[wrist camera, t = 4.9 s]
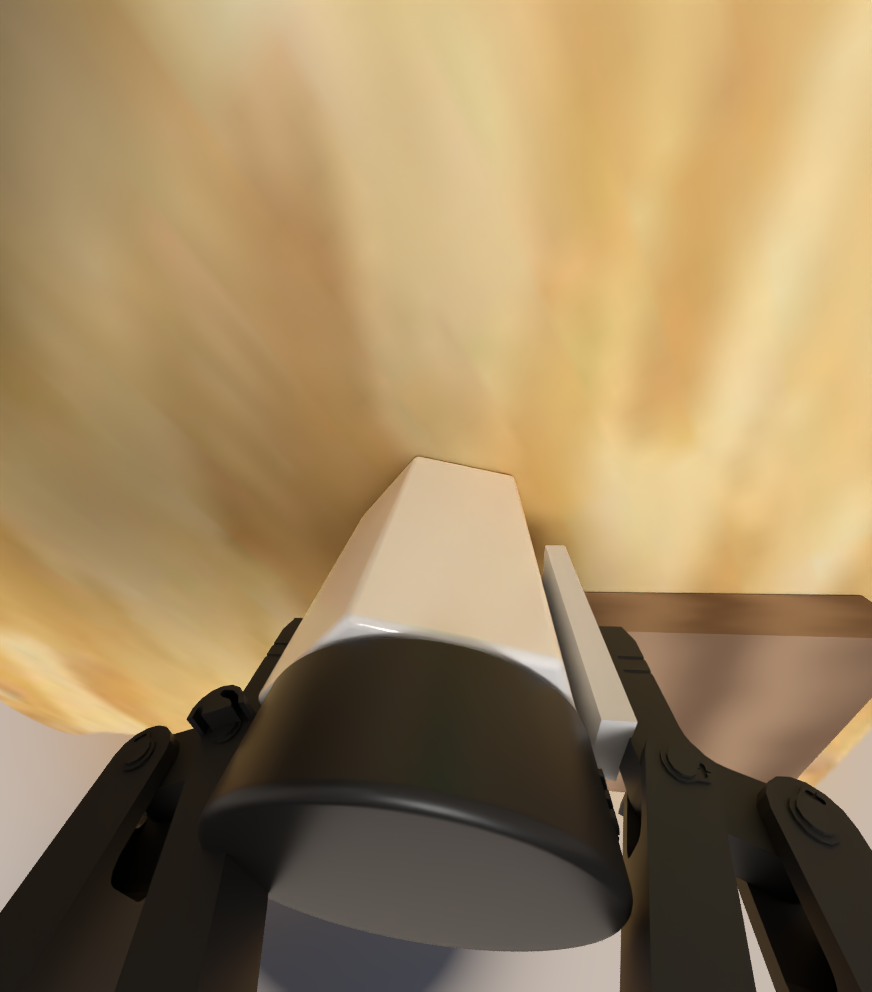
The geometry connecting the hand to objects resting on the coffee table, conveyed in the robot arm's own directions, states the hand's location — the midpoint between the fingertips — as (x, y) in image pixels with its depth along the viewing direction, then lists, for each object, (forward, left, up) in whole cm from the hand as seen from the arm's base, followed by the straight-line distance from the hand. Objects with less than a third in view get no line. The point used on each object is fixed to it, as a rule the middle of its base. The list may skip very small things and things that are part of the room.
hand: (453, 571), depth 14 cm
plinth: (+12, -12, -3) cm, 17 cm away
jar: (0, 0, -3) cm, 3 cm away
